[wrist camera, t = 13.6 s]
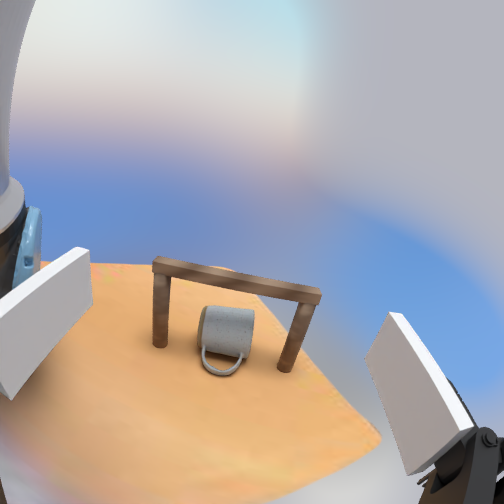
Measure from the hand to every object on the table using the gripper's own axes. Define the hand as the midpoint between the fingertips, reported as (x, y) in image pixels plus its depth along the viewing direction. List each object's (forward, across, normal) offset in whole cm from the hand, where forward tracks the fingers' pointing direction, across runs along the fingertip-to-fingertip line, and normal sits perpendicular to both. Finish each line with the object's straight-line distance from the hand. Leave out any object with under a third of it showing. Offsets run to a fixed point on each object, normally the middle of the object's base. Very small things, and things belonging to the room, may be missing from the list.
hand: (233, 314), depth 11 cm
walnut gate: (+22, 0, -24) cm, 33 cm away
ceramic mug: (+24, 0, -24) cm, 34 cm away
